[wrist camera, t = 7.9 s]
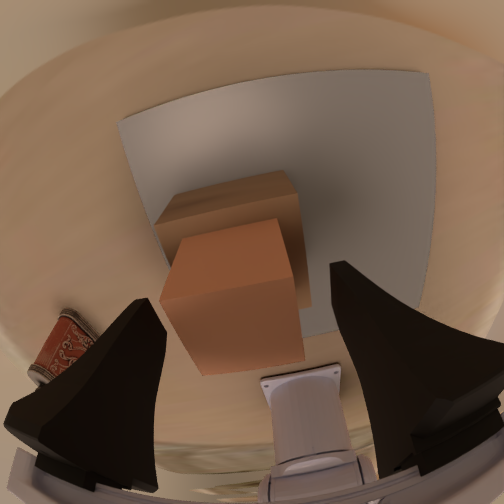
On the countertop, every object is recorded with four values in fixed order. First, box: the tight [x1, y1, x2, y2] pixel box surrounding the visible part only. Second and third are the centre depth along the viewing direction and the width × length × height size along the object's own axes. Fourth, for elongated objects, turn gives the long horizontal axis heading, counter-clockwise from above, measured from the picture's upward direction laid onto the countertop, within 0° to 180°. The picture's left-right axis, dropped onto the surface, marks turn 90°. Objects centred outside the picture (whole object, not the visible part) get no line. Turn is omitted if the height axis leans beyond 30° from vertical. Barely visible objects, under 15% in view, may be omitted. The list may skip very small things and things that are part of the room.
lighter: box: [27, 308, 100, 391], centre depth 17 cm, size 8×3×10 cm, turn 17°
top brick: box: [159, 218, 305, 376], centre depth 10 cm, size 4×4×4 cm
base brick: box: [154, 170, 312, 310], centre depth 14 cm, size 6×6×4 cm
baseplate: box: [116, 70, 436, 338], centre depth 16 cm, size 18×18×1 cm
